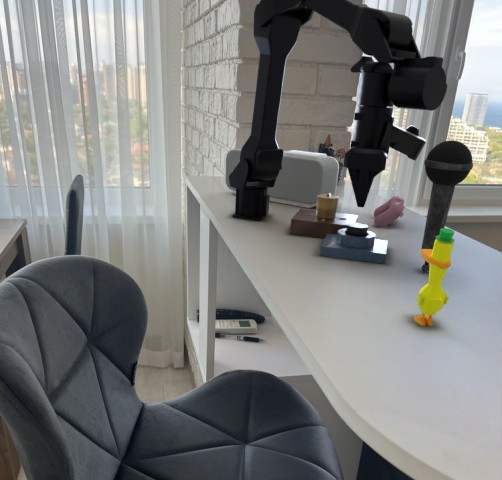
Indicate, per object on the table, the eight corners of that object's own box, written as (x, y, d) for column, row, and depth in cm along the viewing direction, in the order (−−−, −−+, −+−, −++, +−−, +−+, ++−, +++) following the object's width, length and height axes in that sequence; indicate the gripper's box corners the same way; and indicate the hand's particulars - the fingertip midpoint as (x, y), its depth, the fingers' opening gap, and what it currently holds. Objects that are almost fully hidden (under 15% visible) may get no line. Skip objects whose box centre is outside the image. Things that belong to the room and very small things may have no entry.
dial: (334, 219, 98) (337, 197, 96) (314, 217, 99) (316, 195, 97) (336, 215, 102) (339, 193, 100) (317, 213, 102) (319, 191, 100)
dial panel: (289, 234, 98) (291, 218, 97) (299, 222, 107) (300, 207, 106) (351, 241, 96) (353, 225, 94) (355, 229, 105) (358, 214, 103)
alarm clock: (335, 204, 126) (341, 154, 121) (318, 210, 119) (324, 157, 114) (243, 188, 139) (245, 143, 134) (224, 193, 132) (225, 145, 127)
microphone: (424, 281, 78) (455, 143, 69) (394, 267, 83) (418, 137, 74) (456, 276, 81) (489, 143, 72) (425, 263, 86) (452, 137, 77)
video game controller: (390, 235, 107) (410, 207, 104) (372, 224, 107) (392, 195, 104) (388, 224, 116) (407, 198, 113) (371, 214, 116) (390, 187, 113)
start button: (344, 236, 87) (346, 226, 86) (346, 231, 90) (348, 221, 89) (366, 239, 86) (367, 229, 85) (367, 234, 89) (368, 224, 89)
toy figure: (398, 311, 66) (416, 220, 61) (424, 310, 67) (444, 220, 62) (421, 333, 60) (443, 235, 55) (449, 333, 61) (473, 235, 56)
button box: (319, 255, 87) (321, 235, 85) (326, 242, 95) (328, 223, 93) (384, 263, 84) (388, 243, 83) (386, 249, 92) (389, 230, 91)
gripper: (431, 111, 69) (410, 224, 76) (426, 108, 85) (409, 201, 92) (350, 106, 72) (336, 216, 79) (359, 104, 88) (347, 195, 95)
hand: (360, 206), depth 86 cm, fingers closed
